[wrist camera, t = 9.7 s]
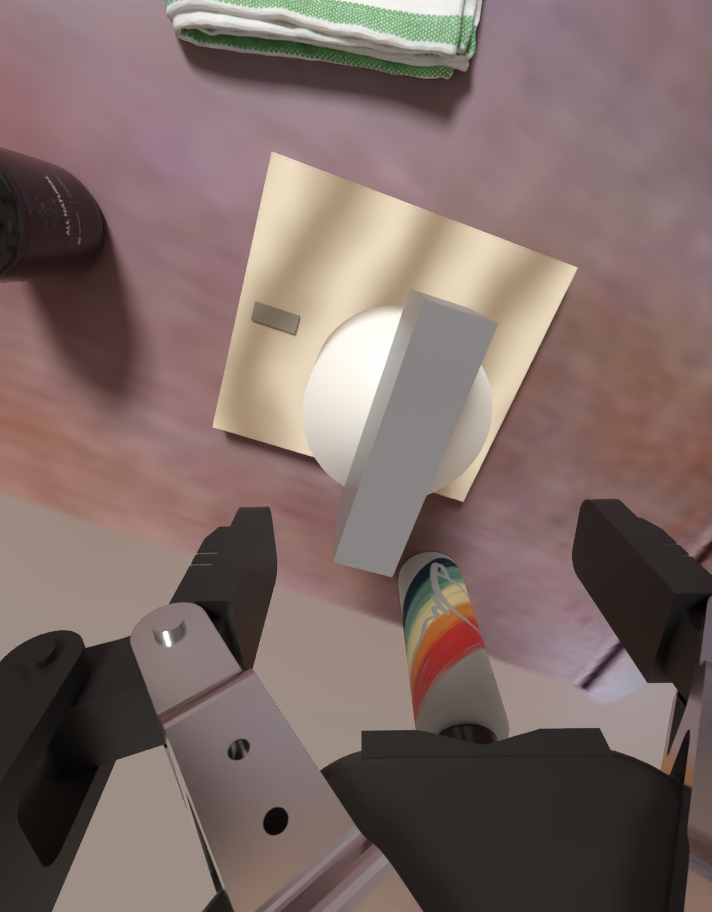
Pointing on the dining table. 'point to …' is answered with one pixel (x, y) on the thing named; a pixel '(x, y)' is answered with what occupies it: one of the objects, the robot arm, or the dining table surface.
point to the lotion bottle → (447, 654)
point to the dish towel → (339, 31)
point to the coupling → (396, 418)
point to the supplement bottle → (45, 221)
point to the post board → (368, 295)
